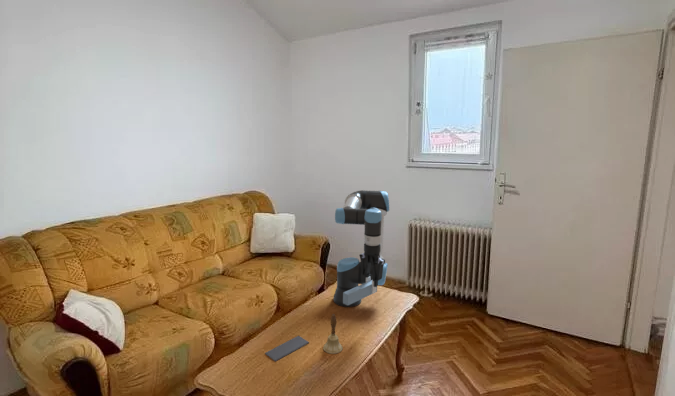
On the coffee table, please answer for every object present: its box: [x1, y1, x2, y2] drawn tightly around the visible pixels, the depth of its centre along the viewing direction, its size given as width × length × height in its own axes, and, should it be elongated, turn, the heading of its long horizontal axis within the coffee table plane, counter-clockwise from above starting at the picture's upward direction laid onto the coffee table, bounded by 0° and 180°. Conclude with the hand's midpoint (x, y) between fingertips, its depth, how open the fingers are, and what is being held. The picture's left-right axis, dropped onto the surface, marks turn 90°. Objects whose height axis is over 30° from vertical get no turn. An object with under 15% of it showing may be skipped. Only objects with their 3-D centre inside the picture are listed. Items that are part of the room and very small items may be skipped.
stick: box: [343, 280, 373, 305], centre depth 167 cm, size 20×3×5 cm, turn 135°
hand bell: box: [322, 313, 343, 355], centre depth 157 cm, size 8×8×16 cm
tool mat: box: [264, 335, 310, 362], centre depth 158 cm, size 18×7×1 cm, turn 135°
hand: (370, 291), depth 173 cm, fingers closed on stick, 3 cm apart
